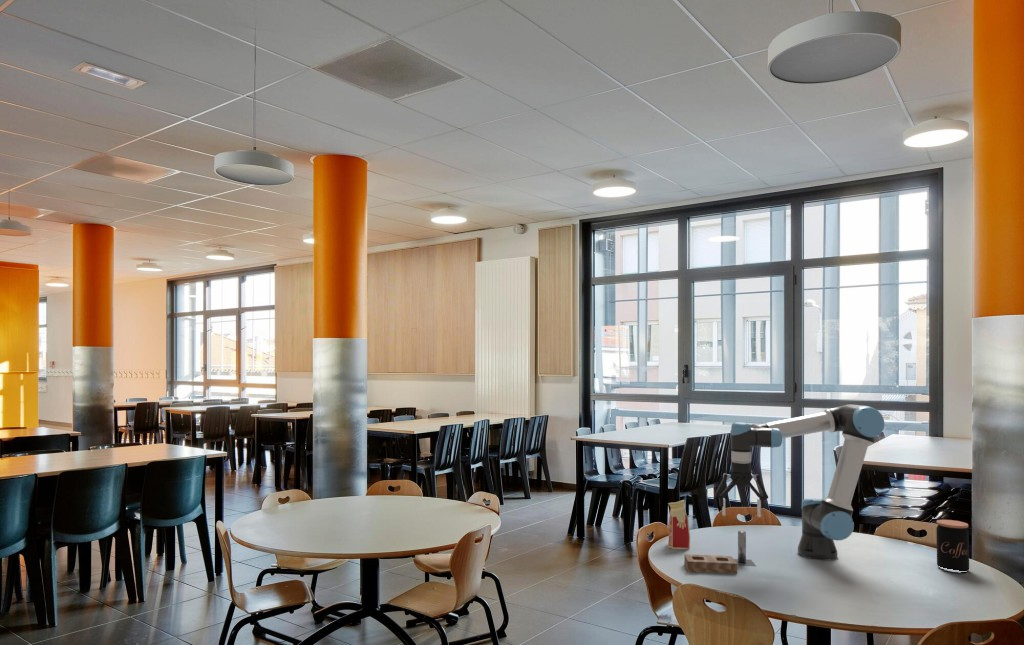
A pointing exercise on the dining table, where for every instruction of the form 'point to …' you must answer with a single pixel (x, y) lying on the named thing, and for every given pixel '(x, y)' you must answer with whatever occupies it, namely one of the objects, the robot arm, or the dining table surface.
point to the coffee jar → (952, 545)
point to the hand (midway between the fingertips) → (741, 515)
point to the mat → (748, 563)
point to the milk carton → (678, 527)
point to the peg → (741, 547)
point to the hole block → (710, 563)
